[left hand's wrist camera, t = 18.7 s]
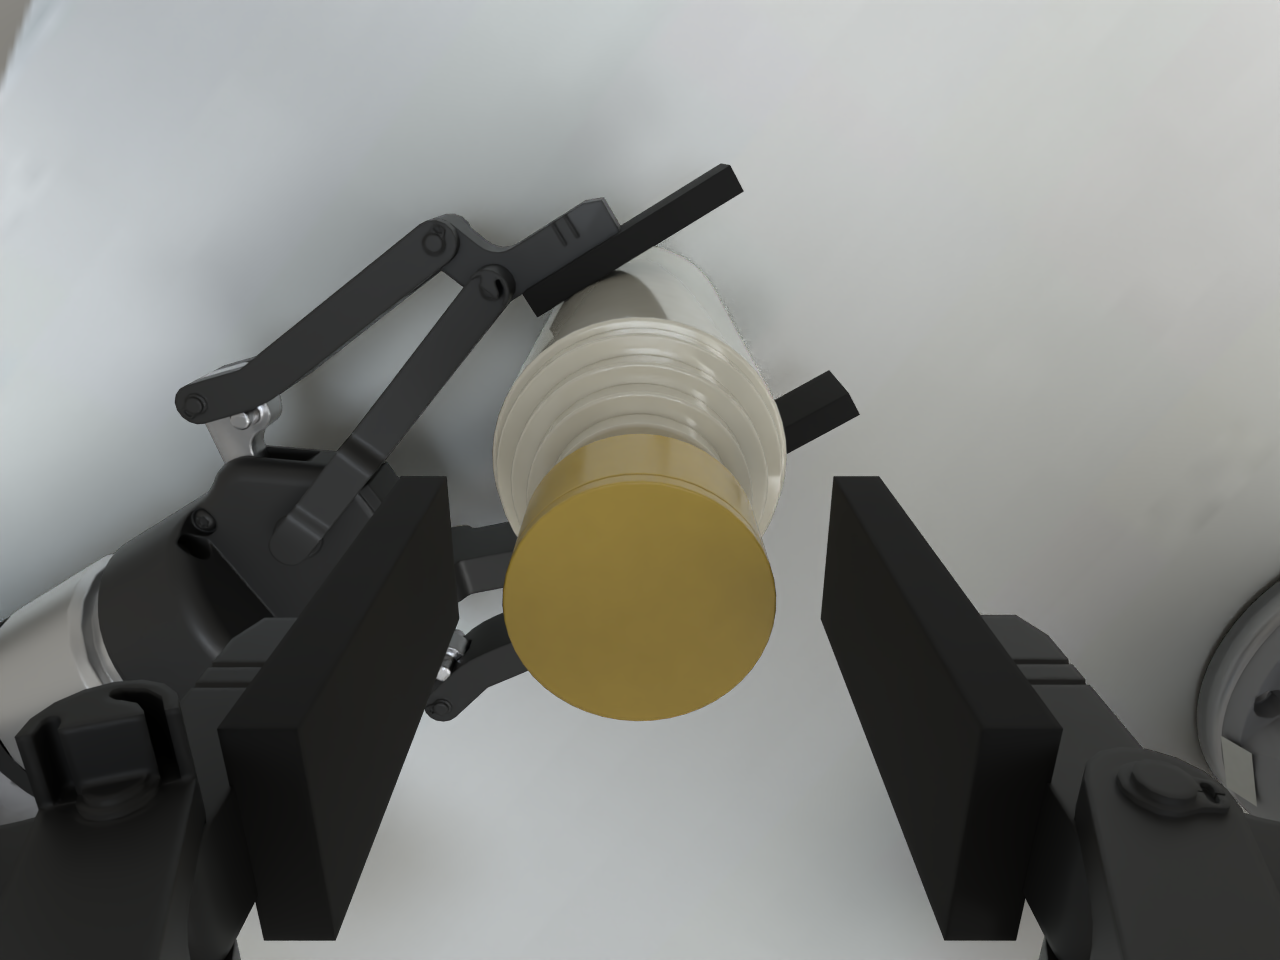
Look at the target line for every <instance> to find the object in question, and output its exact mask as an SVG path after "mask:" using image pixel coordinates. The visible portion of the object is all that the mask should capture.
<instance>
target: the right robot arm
mask: <svg viewBox="0 0 1280 960" xmlns="http://www.w3.org/2000/svg"><path fill="white" fill-rule="evenodd" d="M742 192H743V189H742V187H741V185H740V183H739V181H738V179H737V177H736V175H735V174H734V172H733V170H732V168H731V166H730V165H726V164H719V165H718V166H716V167H714V168H713V169H711V170H710V171H708V172H706V173H705V174H703V175H702V176H700V177H698V178H697V179H695V180H694V181H692V182H690V183H689V184H687V185H685V186H684V187H682V188H681V189H679V190H677V191H676V192H674V193H673V194H671V195H669V196H668V197H666V198H665V199H663V200H661V201H660V202H658V203H657V204H655V205H653V206H652V207H650V208H648V209H647V210H645V211H644V212H642V213H640V214H639V215H637V216H636V217H634V218H632V219H631V220H629V221H628V222H626V223H624V224H623V225H621V226H620V224H619V223H618V221H617V219H616V217H615V216H614V214H613V212H612V210H611V209H610V207H609V205H608V204H607V202H606V200H605V198H604V197H603V198H597V199H591V200H585V201H584V202H582V203H581V204H579V205H577V206H576V207H574V208H573V209H571V210H570V211H568V212H566V213H565V214H563V215H562V216H560V217H558V218H557V219H555V220H554V221H552V222H551V223H549V224H547V225H546V226H544V227H543V228H541V229H540V230H538V231H536V232H535V233H533V234H532V235H530V236H528V237H527V238H525V239H524V240H522V241H521V242H519V243H517V244H515V245H513V246H508V247H502V246H497V245H494V244H492V243H490V242H489V241H487V240H486V239H485V238H483V237H482V236H481V235H480V234H478V233H477V232H476V231H475V230H473V229H472V228H471V227H470V225H469V223H468V222H467V221H466V220H465V219H464V218H463V217H462V216H459V215H456V214H445V215H442V216H439V217H436V218H433V219H430V220H427V221H425V222H423V223H421V224H420V225H418V226H417V227H416V228H415V229H413V230H412V231H411V232H410V233H408V234H407V235H406V236H405V237H403V238H402V239H401V240H400V241H398V242H397V243H396V244H395V245H394V246H392V247H391V248H390V249H389V250H387V251H386V252H385V253H384V254H382V255H381V256H380V257H379V258H377V259H376V260H375V261H374V262H372V263H371V264H370V265H369V266H367V267H366V268H365V269H364V270H363V271H361V272H360V273H359V274H358V275H356V276H355V277H354V278H353V279H351V280H350V281H349V282H348V283H346V284H345V285H344V286H343V287H341V288H340V289H339V290H338V291H337V292H335V293H334V294H333V295H332V296H330V297H329V298H328V299H327V300H325V301H324V302H323V303H322V304H320V305H319V306H318V307H317V308H315V309H314V310H313V311H312V312H310V313H309V314H308V315H307V316H306V317H304V318H303V319H302V320H301V321H299V322H298V323H297V324H296V325H294V326H293V327H292V328H291V329H289V330H288V331H287V332H286V333H284V334H283V335H282V336H281V337H279V338H278V339H277V340H276V341H275V342H273V343H272V344H271V345H270V346H268V347H267V348H266V349H265V350H263V351H262V352H261V353H260V354H258V355H257V356H255V357H252V358H248V359H245V360H241V361H238V362H235V363H231V364H228V365H224V366H222V367H221V368H219V369H217V370H215V371H213V372H211V373H209V374H207V375H205V376H203V377H201V378H199V379H197V380H195V381H194V382H192V383H190V384H188V385H186V386H184V387H182V388H181V389H179V391H178V392H177V394H176V397H175V405H176V408H177V411H178V412H179V413H180V415H181V416H182V417H183V418H184V419H186V420H187V421H189V422H191V423H195V424H206V426H207V428H208V430H209V432H210V434H211V436H212V438H213V440H214V442H215V444H216V446H217V448H218V450H219V452H220V454H221V456H222V458H223V460H224V462H225V465H224V466H223V467H222V468H221V469H220V470H219V472H218V474H217V476H216V478H215V481H214V483H213V485H212V487H211V489H210V490H209V492H208V493H206V494H204V495H203V496H201V497H200V498H198V499H196V500H195V501H193V502H192V503H190V504H188V505H187V506H185V507H184V508H182V509H180V510H179V511H177V512H175V513H174V514H172V515H171V516H169V517H167V518H166V519H164V520H163V521H161V522H159V523H158V524H156V525H155V526H153V527H151V528H150V529H148V530H146V531H145V532H143V533H142V534H140V535H138V536H137V537H135V538H134V539H132V540H130V541H129V542H127V543H126V544H124V545H123V546H122V547H120V548H119V549H118V550H117V551H116V552H115V553H114V554H110V555H106V556H104V557H103V558H101V559H100V560H98V561H96V562H95V563H93V564H92V565H90V566H88V567H87V568H85V569H83V570H82V571H80V572H79V573H77V574H75V575H74V576H72V577H71V578H69V579H67V580H66V581H64V582H62V583H61V584H59V585H58V586H56V587H54V588H53V589H51V590H50V591H48V592H46V593H45V594H43V595H41V596H40V597H38V598H37V599H35V600H33V601H32V602H30V603H29V604H27V605H25V606H24V607H22V608H20V609H19V610H17V611H16V612H14V613H13V614H12V615H11V616H10V617H8V618H7V619H5V620H4V621H2V622H1V623H0V825H4V824H9V823H14V822H18V821H23V820H26V819H30V818H34V817H36V814H37V812H38V807H37V804H36V801H35V798H34V795H33V792H32V789H31V786H30V783H29V780H28V777H27V774H26V771H25V768H24V765H23V762H22V759H21V756H20V753H19V750H18V746H17V743H16V740H15V736H16V734H17V733H18V732H19V731H20V730H21V729H22V727H23V726H24V725H25V724H26V723H27V722H28V720H29V719H30V718H32V717H33V716H35V715H36V714H38V713H39V712H41V711H42V710H44V709H45V708H47V707H48V706H50V705H51V704H53V703H54V702H57V701H59V700H61V699H63V698H66V697H68V696H70V695H73V694H75V693H77V692H80V691H82V690H84V689H88V688H92V687H96V686H100V685H104V684H108V683H112V682H117V681H131V680H148V681H153V682H159V683H164V684H166V685H167V686H168V687H170V688H171V689H172V690H174V691H175V692H176V693H177V694H178V698H179V702H180V700H181V699H182V698H183V697H184V696H185V694H186V693H187V692H188V691H189V690H190V688H195V685H196V684H195V682H196V681H197V680H198V679H199V678H200V676H201V675H202V674H203V673H204V672H205V670H206V669H207V668H208V667H212V662H213V661H214V660H215V658H216V657H217V656H218V655H219V654H220V652H221V651H222V650H223V649H224V648H225V646H226V645H227V644H228V643H229V642H230V640H231V639H232V638H234V637H235V636H237V635H238V634H240V633H241V632H243V631H245V630H246V629H248V628H249V627H251V626H252V625H254V624H256V623H257V622H259V621H260V620H262V619H263V618H298V617H299V615H300V614H301V613H302V611H303V610H304V609H305V607H306V606H307V604H308V603H309V602H310V600H311V599H312V598H313V596H314V595H315V593H316V592H317V591H318V589H319V588H320V587H321V585H322V584H323V582H324V581H325V580H326V578H327V577H328V576H329V574H330V573H331V572H332V570H333V569H334V567H335V566H336V565H337V563H338V562H339V561H340V559H341V558H342V556H343V555H344V554H345V552H346V551H347V550H348V548H349V547H350V545H351V544H352V543H353V541H354V540H355V539H356V537H357V536H358V535H359V533H360V532H361V530H362V529H363V528H364V526H365V525H366V524H367V522H368V521H369V519H370V518H371V517H372V515H373V514H374V513H375V511H376V510H377V508H378V507H379V506H380V504H381V503H382V502H383V500H384V499H385V498H386V496H387V495H388V493H389V492H390V491H391V489H392V488H393V487H394V485H395V484H396V482H397V481H398V480H399V478H398V476H397V475H396V474H395V472H394V471H393V470H392V468H391V467H390V466H389V464H388V463H387V462H385V463H383V462H384V461H385V460H386V459H387V457H388V456H389V455H390V453H391V452H392V451H393V450H394V448H395V447H396V446H397V445H398V443H399V442H400V441H401V440H402V438H403V437H404V436H405V434H406V433H407V432H408V430H409V429H410V428H411V427H412V425H413V424H414V423H415V422H416V420H417V419H418V418H419V417H420V415H421V414H422V413H423V412H424V410H425V409H426V408H427V406H428V405H429V404H430V403H431V401H432V400H433V399H434V398H435V396H436V395H437V394H438V393H439V391H440V390H441V389H442V387H443V386H444V385H445V384H446V382H447V381H448V380H449V379H450V377H451V376H452V375H453V374H454V372H455V371H456V370H457V368H458V367H459V366H460V365H461V363H462V362H463V361H464V360H465V358H466V357H467V356H468V355H469V353H470V352H471V351H472V350H473V348H474V347H475V346H476V344H477V343H478V342H479V341H480V339H481V338H482V337H483V336H484V334H485V333H486V332H487V331H488V329H489V328H490V327H491V325H492V324H493V323H494V322H495V320H496V319H497V318H498V317H499V315H500V314H501V313H502V312H503V310H504V309H505V308H506V306H507V305H508V304H509V303H510V301H512V300H513V299H515V298H517V297H518V296H520V295H521V294H523V296H524V297H525V299H526V300H527V302H528V304H529V305H530V307H531V308H532V310H533V311H534V313H535V314H536V316H537V317H539V316H540V315H542V314H544V313H545V312H547V311H549V310H550V309H552V308H554V307H555V306H557V305H558V304H560V303H562V302H563V301H565V300H567V299H568V298H570V297H572V296H573V295H575V294H576V293H578V292H580V291H581V290H583V289H585V288H586V287H588V286H590V285H591V284H593V283H594V282H596V281H598V280H599V279H601V278H603V277H604V276H606V275H608V274H609V273H611V272H612V271H614V270H616V269H617V268H619V267H621V266H622V265H624V264H626V263H627V262H629V261H630V260H632V259H634V258H635V257H637V256H639V255H640V254H642V253H644V252H645V251H647V250H648V249H650V248H652V247H653V246H655V245H657V244H658V243H660V242H662V241H663V240H665V239H666V238H668V237H670V236H671V235H673V234H675V233H676V232H678V231H680V230H681V229H683V228H684V227H686V226H688V225H689V224H691V223H693V222H694V221H696V220H698V219H699V218H701V217H702V216H704V215H706V214H707V213H709V212H711V211H712V210H714V209H716V208H717V207H719V206H720V205H722V204H724V203H725V202H727V201H729V200H730V199H732V198H734V197H735V196H737V195H738V194H740V193H742ZM441 270H442V271H443V272H445V273H446V274H447V275H448V276H450V277H451V278H452V279H454V280H455V281H456V282H457V283H459V284H460V285H461V286H463V287H464V288H463V289H462V290H461V292H460V293H459V294H458V295H457V297H456V298H455V299H454V301H453V302H452V303H451V305H450V306H449V307H448V308H447V310H446V311H445V312H444V314H443V315H442V316H441V318H440V319H439V320H438V322H437V323H436V324H435V325H434V327H433V328H432V329H431V331H430V332H429V333H428V335H427V336H426V337H425V339H424V340H423V341H422V342H421V344H420V345H419V346H418V348H417V349H416V350H415V352H414V353H413V354H412V356H411V357H410V358H409V359H408V361H407V362H406V363H405V365H404V366H403V367H402V369H401V370H400V371H399V373H398V374H397V375H396V376H395V378H394V379H393V380H392V382H391V383H390V384H389V386H388V387H387V388H386V389H385V391H384V392H383V393H382V395H381V396H380V397H379V399H378V400H377V401H376V403H375V404H374V405H373V406H372V408H371V409H370V410H369V412H368V413H367V414H366V416H365V417H364V418H363V420H362V421H361V422H360V423H359V425H358V426H357V427H356V429H355V430H354V431H353V433H352V434H351V435H350V436H349V438H348V439H347V440H346V441H345V442H344V443H343V445H342V446H341V447H340V448H339V449H338V451H326V450H314V449H303V448H291V447H279V446H268V445H266V444H265V441H264V432H265V429H266V428H267V427H268V426H269V425H270V424H272V423H273V422H274V421H276V420H277V419H278V418H279V417H280V415H281V412H282V403H281V397H280V395H279V394H281V393H282V392H284V391H285V390H287V389H288V388H290V387H291V386H293V385H294V384H296V383H297V382H298V381H300V380H301V379H303V378H304V377H306V376H307V375H309V374H310V373H312V372H313V371H314V370H315V369H317V368H318V367H319V366H321V365H322V364H323V363H324V362H326V361H327V360H328V359H329V358H331V357H332V356H333V355H335V354H336V353H337V352H338V351H340V350H341V349H342V348H343V347H345V346H346V345H347V344H349V343H350V342H351V341H352V340H354V339H355V338H356V337H357V336H359V335H360V334H361V333H363V332H364V331H365V330H366V329H368V328H369V327H370V326H371V325H373V324H374V323H375V322H377V321H378V320H379V319H380V318H382V317H383V316H384V315H385V314H387V313H388V312H389V311H391V310H392V309H393V308H394V307H396V306H397V305H398V304H399V303H401V302H402V301H403V300H405V299H406V298H407V297H408V296H410V295H411V294H412V293H413V292H415V291H416V290H417V289H419V288H420V287H421V286H422V285H424V284H425V283H426V282H427V281H429V280H430V279H431V278H433V277H434V276H435V275H436V274H438V273H439V272H440V271H441ZM774 401H775V402H776V404H777V407H778V410H779V413H780V416H781V419H782V422H783V427H784V433H785V438H786V453H787V454H788V453H790V452H791V451H793V450H795V449H797V448H799V447H801V446H803V445H804V444H806V443H808V442H810V441H812V440H814V439H816V438H817V437H819V436H821V435H823V434H825V433H827V432H829V431H830V430H832V429H834V428H836V427H838V426H840V425H842V424H843V423H845V422H847V421H849V420H851V419H853V418H855V417H856V416H858V415H860V414H859V412H858V410H857V408H856V406H855V404H854V402H853V401H852V399H851V397H850V395H849V393H848V392H847V391H846V389H845V388H844V387H843V386H842V385H841V384H840V382H839V381H838V380H837V379H836V378H835V377H834V375H833V374H832V373H831V372H830V371H829V370H828V371H827V372H825V373H823V374H821V375H819V376H818V377H816V378H814V379H812V380H810V381H809V382H807V383H805V384H803V385H801V386H800V387H798V388H796V389H794V390H792V391H790V392H789V393H787V394H785V395H783V396H781V397H780V398H778V399H776V400H774ZM451 533H452V544H453V555H454V566H455V577H456V588H457V600H458V602H459V601H461V600H463V599H464V598H465V597H467V596H468V595H470V594H473V593H478V592H483V591H489V590H494V589H499V588H503V586H504V581H505V576H506V572H507V568H508V565H509V562H510V559H511V556H512V553H513V549H514V546H515V543H516V540H517V536H516V534H515V533H514V531H513V529H512V527H511V525H510V523H509V522H505V523H500V524H495V525H490V526H485V527H480V528H472V527H470V526H468V525H462V526H456V527H451ZM526 671H528V670H527V668H526V667H525V666H524V665H523V663H522V661H521V660H520V658H519V657H518V655H517V653H516V652H515V650H514V648H513V645H512V643H511V641H510V638H509V636H508V632H507V629H506V625H505V621H504V614H503V613H501V614H499V615H497V616H494V617H492V618H490V619H488V620H486V621H484V622H483V623H481V624H480V625H478V626H476V627H475V628H473V629H472V630H471V631H470V632H469V633H467V634H466V635H465V634H464V633H463V632H462V631H460V630H457V629H455V631H454V634H453V636H452V639H451V642H450V644H449V647H448V649H447V652H446V655H445V657H444V660H443V662H442V665H441V668H440V670H439V673H438V675H437V678H436V681H435V683H434V686H433V688H432V691H431V694H430V696H429V699H428V701H427V704H426V707H425V711H426V713H427V714H428V715H429V716H430V717H431V718H433V719H435V720H437V721H443V722H444V721H449V720H452V719H453V718H455V717H456V716H457V715H458V714H459V713H460V712H462V711H463V710H464V709H465V708H466V707H467V706H468V705H469V704H470V703H471V702H472V701H474V700H475V699H476V698H477V697H478V696H479V695H480V694H481V693H482V692H483V691H484V690H485V689H487V688H488V687H490V686H492V685H495V684H497V683H500V682H502V681H504V680H507V679H509V678H512V677H514V676H516V675H519V674H521V673H524V672H526Z"/></svg>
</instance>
